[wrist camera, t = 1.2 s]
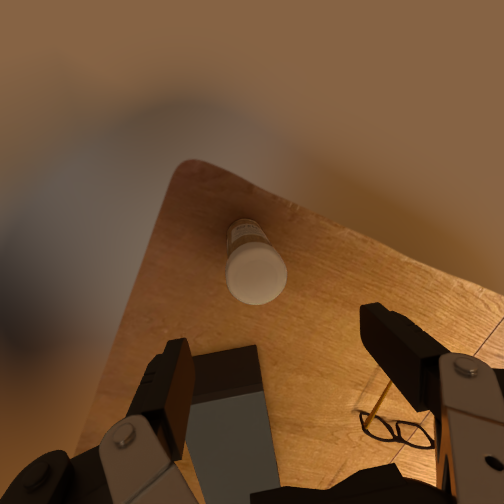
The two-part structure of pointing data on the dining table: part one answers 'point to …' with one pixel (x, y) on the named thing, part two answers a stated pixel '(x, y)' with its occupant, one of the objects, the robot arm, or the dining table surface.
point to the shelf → (230, 428)
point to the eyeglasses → (395, 438)
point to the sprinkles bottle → (253, 264)
